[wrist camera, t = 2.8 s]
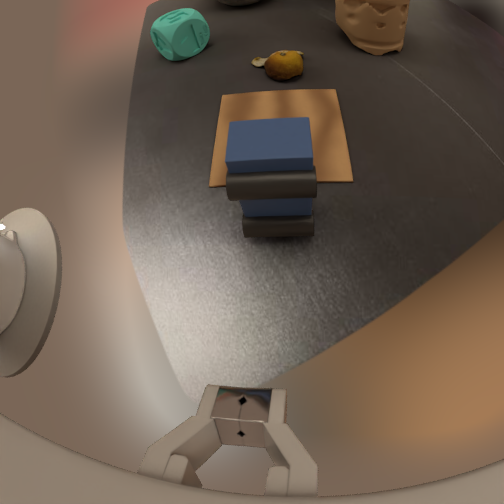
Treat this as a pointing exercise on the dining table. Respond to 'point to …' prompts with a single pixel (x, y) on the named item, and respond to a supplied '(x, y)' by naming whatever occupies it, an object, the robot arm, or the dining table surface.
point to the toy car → (272, 175)
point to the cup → (238, 2)
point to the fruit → (281, 64)
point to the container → (373, 23)
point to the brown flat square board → (288, 106)
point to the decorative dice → (180, 34)
